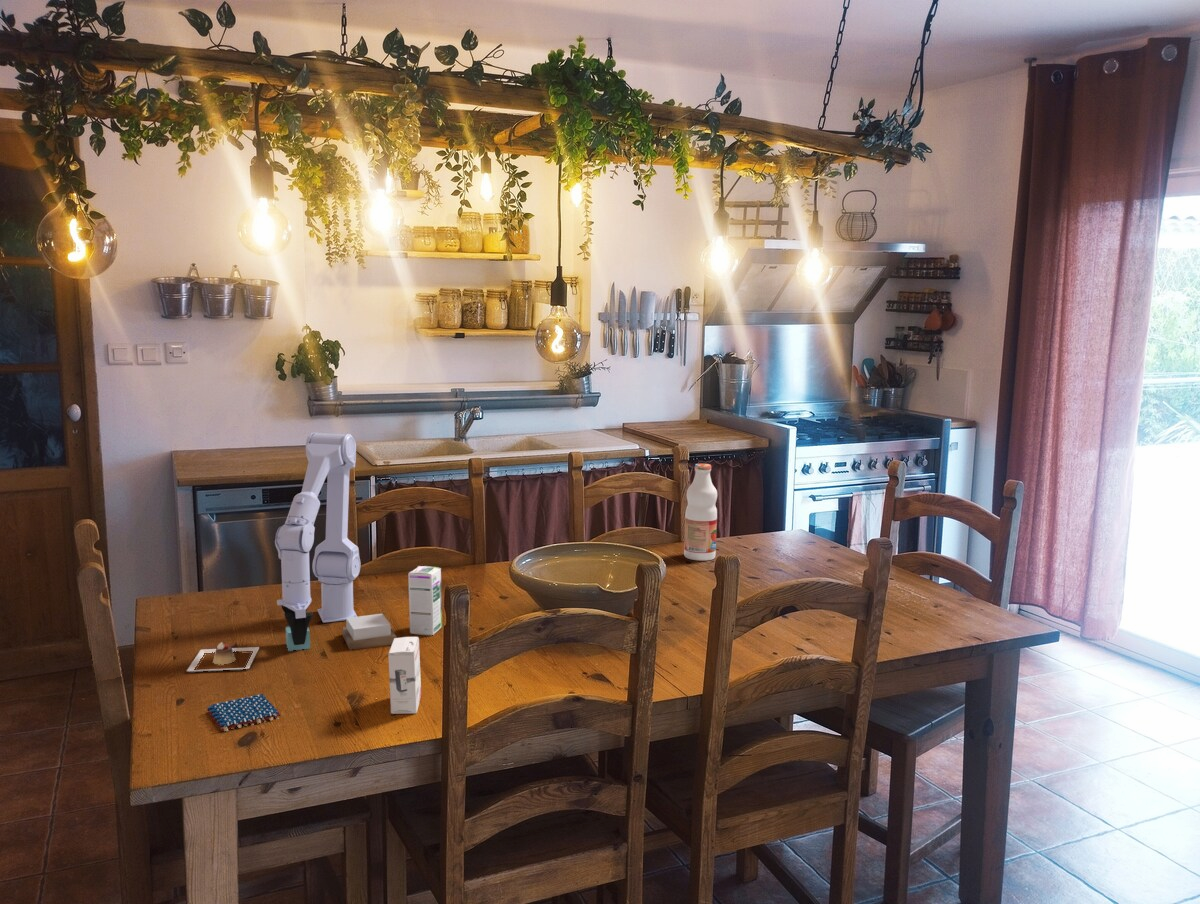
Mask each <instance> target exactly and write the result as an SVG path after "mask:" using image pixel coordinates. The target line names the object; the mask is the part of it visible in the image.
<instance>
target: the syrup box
mask: <svg viewBox="0 0 1200 904" xmlns="http://www.w3.org/2000/svg"><path fill="white" fill-rule="evenodd" d="M441 570H442V567H438V566H430V565H429V566H428V565H424V566H423V565H422V566H421V565H417V567H416V568H414V569H413V570H411V571H409V572H408V575H407V577H408V579H407V580H408V605H409V606H408V608H409V609H408V611H409V634H414V635H420V636H432V635H433V636H434V635H435V634H436V633H437V632H438V631H439V630H441V628H443V609H442V608H443V607H442V606H443V603H442V596H443V595H442V571H441Z"/></svg>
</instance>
